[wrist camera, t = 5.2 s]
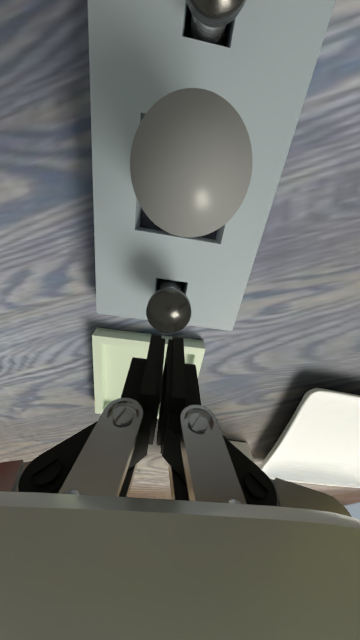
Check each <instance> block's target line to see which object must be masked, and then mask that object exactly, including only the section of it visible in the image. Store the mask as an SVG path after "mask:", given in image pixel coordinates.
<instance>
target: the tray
mask: <svg viewBox="0 0 360 640" xmlns="http://www.w3.org/2000/svg"><path fill="white" fill-rule="evenodd" d="M162 338H164V339H165V351H164V364H165V358H166V352H167V346H168V340H169V339H173V337H171V336H163V335H162ZM178 338H180V337H178ZM150 339H151V334H147V333H139V332H131V331H123V330H115V329H107V328H99V327H97V328H96V330H95V331H94V333H93V334H92V348H93V371H94V394H95V413H97V414H102V412H103V410H104V409H105V407H106V406H107V405H108V404H109V403H110V402H112V401H113V400H116V399H118V398H121V395H122V391H123V388H124V385H125V381H126V378H127V374H128V371H129V367H130V364H131V360H132V358H133V357H135V358H144V359H147V355H148V349H149V344H150ZM183 340H184V356H185V363H186V364H195V365H196V370H197V378H198V375H199V371H200V368H201V364H202V360H203V356H204V352H205V345H204V340H196V339H188V338H183ZM164 364H163V370H164ZM159 408H160V405H159ZM157 419H159V411H158V416H157Z"/></svg>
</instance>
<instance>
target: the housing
mask: <svg viewBox="0 0 360 640" xmlns="http://www.w3.org/2000/svg"><path fill="white" fill-rule="evenodd" d="M335 1H336V0H246V2H245V4H244V6H243V8H242V9H241V11H240V12H239V14H238V15H237V16H236V17H235V18H234V19H233V20H232V21H231V22H230V27H229V33H228V39H227V45H226V47H224V46H220V45H216V44H212V43H208V42H204V41H200V40H196V39H192V38H187V37H184V34H185V25H186V16H187V7H188V5H187V3H186V0H88V32H89V66H90V101H91V135H92V169H93V204H94V238H95V272H96V307H97V313H98V314H106V315H113V316H121V317H129V318H137V319H144V320H148V319H147V316H146V308H147V305H148V301H149V299H150V297H151V296H152V295H153V294H154V293H155V292H156V289H157V280H158V278H160V279H167V280H174V281H181V282H185V287H184V294H185V295H186V296H187V297H188V299H189V301H190V305H191V318H190V321H189V323H188V324H187V325H191V326H198V327H206V328H214V329H221V330H229V331H232V330H233V327H234V323H235V320H236V317H237V314H238V311H239V307H240V304H241V301H242V298H243V295H244V291H245V288H246V285H247V282H248V279H249V275H250V272H251V269H252V266H253V263H254V260H255V256H256V253H257V250H258V247H259V244H260V240H261V237H262V234H263V231H264V228H265V224H266V221H267V218H268V215H269V212H270V209H271V205H272V202H273V199H274V196H275V193H276V189H277V186H278V183H279V180H280V177H281V173H282V170H283V167H284V164H285V161H286V157H287V154H288V151H289V148H290V145H291V142H292V138H293V135H294V132H295V129H296V126H297V122H298V119H299V116H300V113H301V110H302V106H303V103H304V100H305V97H306V94H307V90H308V87H309V84H310V81H311V78H312V75H313V71H314V68H315V65H316V62H317V59H318V55H319V52H320V49H321V46H322V43H323V39H324V36H325V33H326V30H327V27H328V24H329V20H330V17H331V14H332V11H333V8H334V4H335ZM184 88H201V89H206V90H209V91H212V92H214V93H216V94H218V95H220V96H221V97H223V98H224V99H225V100H227V101H228V102H229V103H230V104H231V105H232V106H233V107H234V108H235V110H236V111H237V112H238V114H239V115H240V117H241V118H242V120H243V122H244V124H245V126H246V129H247V131H248V134H249V138H250V142H251V147H252V160H253V165H252V175H251V180H250V184H249V188H248V191H247V194H246V196H245V198H244V200H243V202H242V204H241V206H240V207H239V209H238V210H237V212H236V213H235V214H234V216H233V217H232V218H231V219H230V220H229V221H228V222H227V223H226V224H225V225H223V226H222V227H221V228H219V229H217V234H216V238H215V240H214V239H208V238H202V237H180V236H176V235H173V234H170V233H168V232H166V231H160V230H154V229H148V228H142V227H140V220H141V206H140V204H139V202H138V200H137V198H136V195H135V192H134V190H133V185H132V181H131V174H130V155H131V148H132V143H133V139H134V136H135V133H136V130H137V128H138V126H139V124H140V122H141V120H142V119H143V117H144V116H145V114H146V113H147V111H148V110H149V109H150V108H151V107H152V106H153V105H154V104H155V103H156V102H157V101H158V100H159V99H161V98H162V97H164V96H165V95H167V94H169V93H171V92H174V91H176V90H180V89H184Z"/></svg>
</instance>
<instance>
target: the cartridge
mask: <svg viewBox="0 0 360 640" xmlns="http://www.w3.org/2000/svg"><path fill="white" fill-rule="evenodd" d="M252 165H253V160H252V147H251V142H250V138H249V134H248V131H247V129H246V126H245V124H244V122H243V120H242V118H241V117H240V115H239V114H238V112H237V111H236V110H235V108H234V107H233V106H232V105H231V104H230V103H229V102H228V101H227V100H225V99H224V98H223V97H221V96H220V95H218V94H216V93H214V92H212V91H209V90H206V89H201V88H184V89H180V90H176V91H174V92H171V93H169V94H167V95H165V96H164V97H162V98H161V99H159V100H158V101H157V102H156V103H155V104H154V105H153V106H152V107H151V108H150V109H149V110H148V111H147V113H146V114H145V116H144V117H143V119H142V120H141V122H140V124H139V126H138V128H137V130H136V133H135V136H134V139H133V143H132V148H131V155H130V174H131V181H132V185H133V190H134V192H135V195H136V198H137V200H138V202H139V204H140V206H141V208H142V209H143V211H144V212H145V214H146V215H147V216H148V217H149V219H150V220H151V221H152V222H153V223H154V224H156V225H157V226H158V227H160V228H161V229H162V230H164V231H166V232H168V233H170V234H173V235H176V236H180V237H199V236H204V235H207V234H210V233H212V232H214V231H216V230H217V229H219V228H221V227H222V226H223V225H225V224H226V223H227V222H228V221H229V220H230V219H231V218H232V217H233V216H234V214H235V213H236V212H237V210H238V209H239V207H240V206H241V204H242V202H243V200H244V198H245V196H246V194H247V191H248V188H249V184H250V180H251V175H252Z"/></svg>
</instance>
